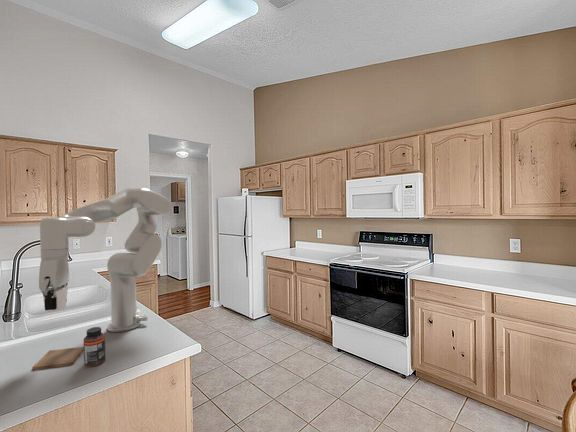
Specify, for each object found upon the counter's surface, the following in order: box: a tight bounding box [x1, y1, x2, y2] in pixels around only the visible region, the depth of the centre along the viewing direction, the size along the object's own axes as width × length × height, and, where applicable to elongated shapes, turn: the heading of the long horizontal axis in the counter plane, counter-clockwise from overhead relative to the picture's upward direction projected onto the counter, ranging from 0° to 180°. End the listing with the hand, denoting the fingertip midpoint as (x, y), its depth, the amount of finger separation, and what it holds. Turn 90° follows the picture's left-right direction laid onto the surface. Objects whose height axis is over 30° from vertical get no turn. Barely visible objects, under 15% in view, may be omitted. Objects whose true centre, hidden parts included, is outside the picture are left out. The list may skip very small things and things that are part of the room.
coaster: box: [32, 346, 84, 371], centre depth 101 cm, size 11×11×1 cm
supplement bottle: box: [83, 326, 106, 368], centre depth 98 cm, size 6×6×11 cm
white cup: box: [42, 286, 69, 313], centre depth 101 cm, size 7×7×7 cm
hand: (56, 305), depth 102 cm, fingers closed on white cup, 6 cm apart
